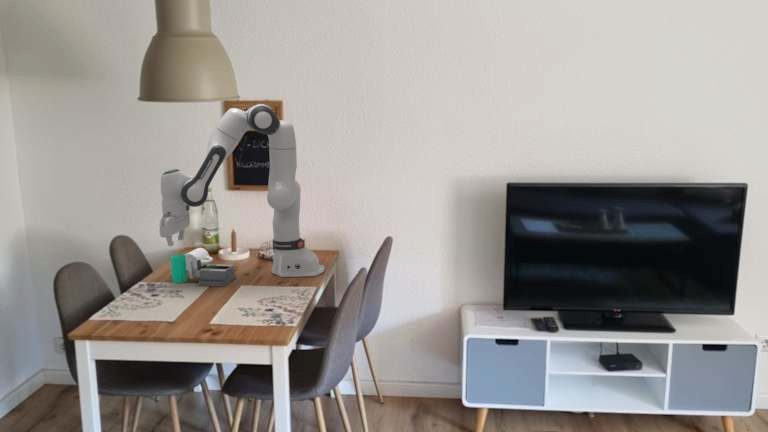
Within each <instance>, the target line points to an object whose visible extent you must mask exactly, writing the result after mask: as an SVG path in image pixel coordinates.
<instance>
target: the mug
mask: <svg viewBox="0 0 768 432" xmlns="http://www.w3.org/2000/svg"><path fill="white" fill-rule="evenodd" d="M184 255H185V257H186V269H187V272H189V264H188V262H189V261H191V260H192V259H194V258H197V260H201V268H202V267H203V266H206V265H207V264H211V263H212V262H213V261H214V258H213V257H212V256H210V254H209V252H208V250H206V249H205V248H203V247H197V248H195V249H193V250H191V251H189V252H187V253H185V254H184Z"/></svg>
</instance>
